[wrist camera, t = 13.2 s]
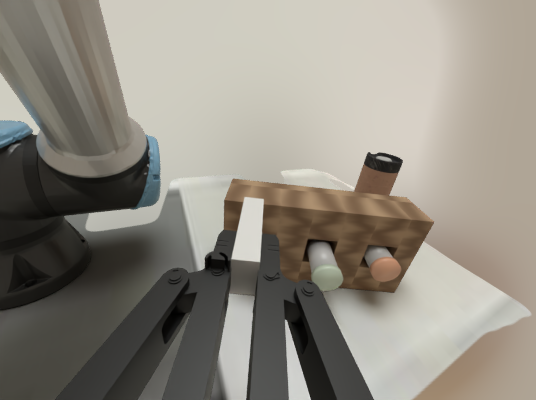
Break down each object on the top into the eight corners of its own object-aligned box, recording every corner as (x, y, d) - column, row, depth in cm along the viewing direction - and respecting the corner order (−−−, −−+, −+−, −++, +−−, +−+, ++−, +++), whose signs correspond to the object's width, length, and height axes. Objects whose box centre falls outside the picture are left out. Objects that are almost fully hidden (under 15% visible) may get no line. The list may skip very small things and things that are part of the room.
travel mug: (370, 242, 54) (403, 165, 45) (339, 230, 57) (364, 156, 48) (374, 227, 60) (403, 157, 51) (346, 217, 63) (369, 149, 54)
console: (222, 277, 40) (224, 200, 32) (230, 247, 47) (232, 178, 40) (394, 292, 41) (434, 222, 34) (376, 261, 48) (406, 197, 41)
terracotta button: (368, 280, 36) (377, 260, 33) (353, 250, 42) (361, 232, 40) (394, 282, 36) (405, 262, 34) (376, 253, 42) (385, 234, 40)
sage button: (309, 289, 33) (315, 267, 31) (303, 256, 39) (308, 236, 37) (338, 292, 33) (347, 270, 31) (328, 258, 39) (334, 239, 37)
